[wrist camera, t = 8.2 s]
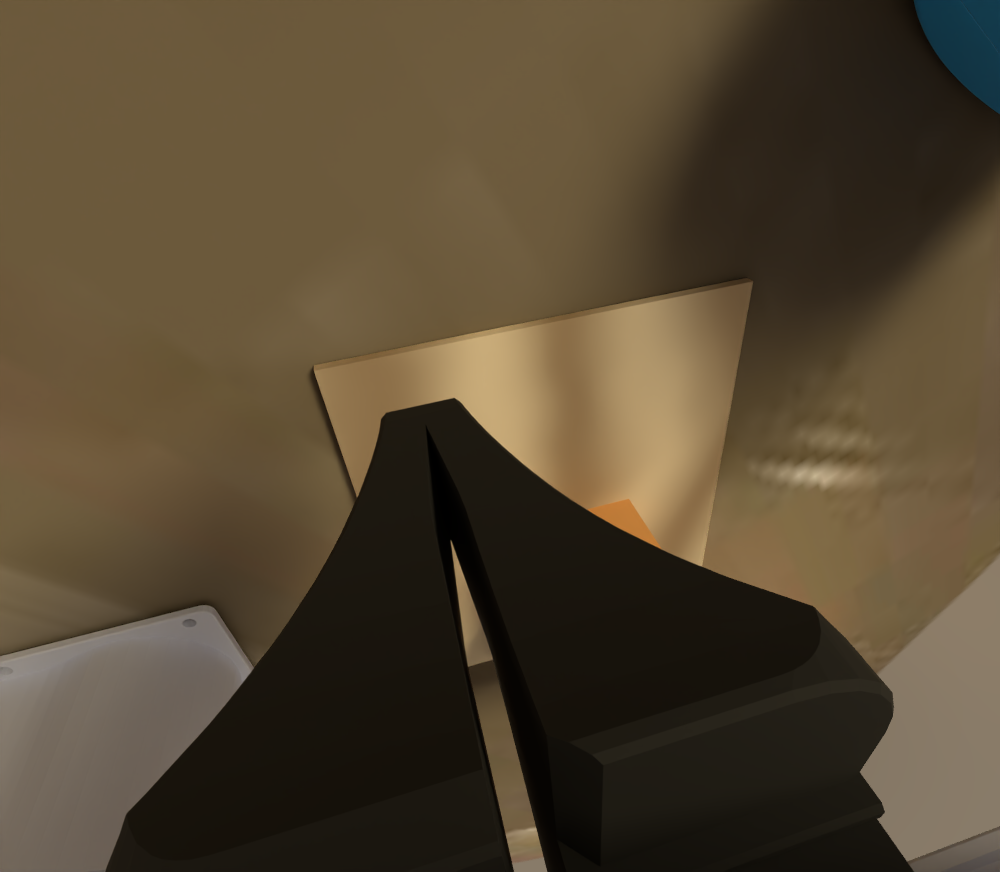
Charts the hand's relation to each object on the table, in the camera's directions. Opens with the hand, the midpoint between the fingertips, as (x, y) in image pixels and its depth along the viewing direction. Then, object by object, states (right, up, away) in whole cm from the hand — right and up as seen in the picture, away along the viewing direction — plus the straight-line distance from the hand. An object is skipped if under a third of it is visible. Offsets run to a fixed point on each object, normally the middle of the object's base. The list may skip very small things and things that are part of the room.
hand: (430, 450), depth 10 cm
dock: (+4, -3, +15) cm, 16 cm away
